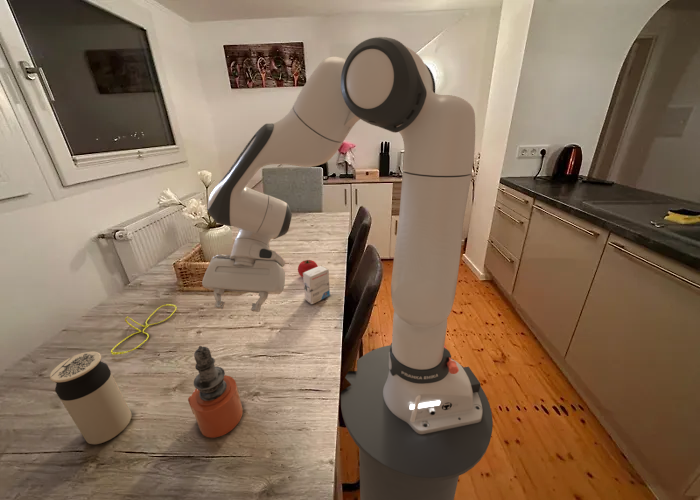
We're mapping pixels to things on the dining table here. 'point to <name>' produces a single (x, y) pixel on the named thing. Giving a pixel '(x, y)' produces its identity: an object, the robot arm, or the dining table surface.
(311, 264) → the tomato
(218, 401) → the coffee cup
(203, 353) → the grey chess piece
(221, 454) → the dining table surface
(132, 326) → the yellow rope bow
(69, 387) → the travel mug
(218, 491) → the dining table surface
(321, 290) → the ink box
